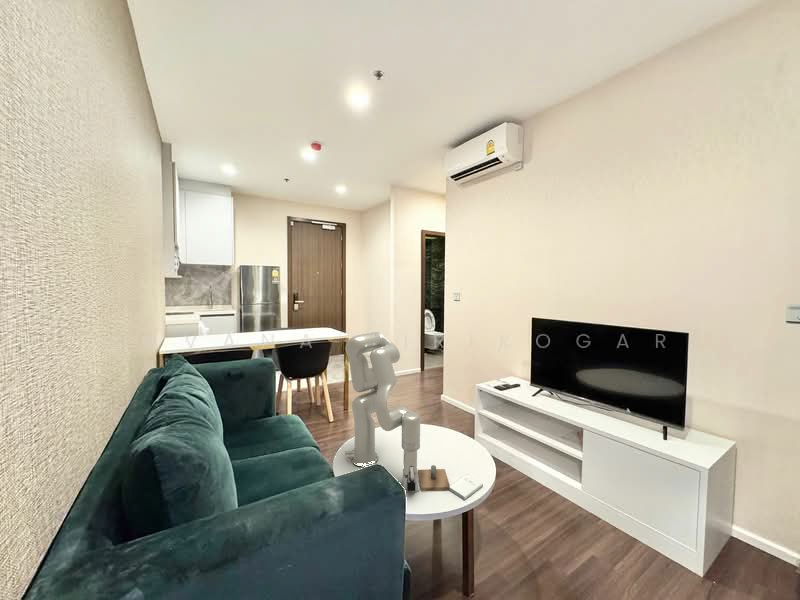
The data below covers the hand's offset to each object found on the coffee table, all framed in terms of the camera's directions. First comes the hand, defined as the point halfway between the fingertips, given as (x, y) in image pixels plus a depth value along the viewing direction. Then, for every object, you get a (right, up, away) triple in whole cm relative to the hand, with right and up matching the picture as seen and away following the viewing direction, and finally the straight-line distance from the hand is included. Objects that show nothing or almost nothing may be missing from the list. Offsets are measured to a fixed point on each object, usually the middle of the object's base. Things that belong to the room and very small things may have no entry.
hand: (410, 483), depth 135 cm
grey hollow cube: (0, -1, 0) cm, 1 cm away
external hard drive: (+23, -2, -1) cm, 23 cm away
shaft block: (+10, -1, +4) cm, 11 cm away
